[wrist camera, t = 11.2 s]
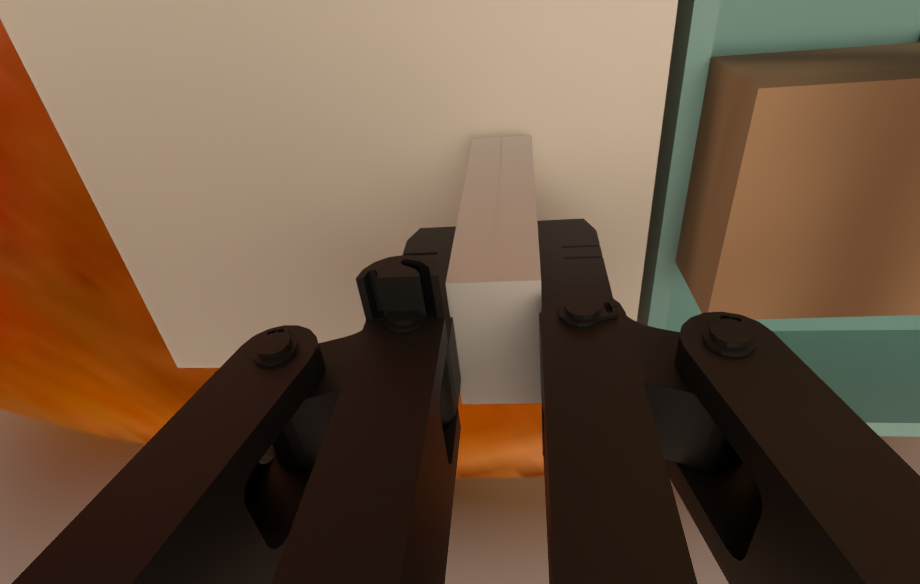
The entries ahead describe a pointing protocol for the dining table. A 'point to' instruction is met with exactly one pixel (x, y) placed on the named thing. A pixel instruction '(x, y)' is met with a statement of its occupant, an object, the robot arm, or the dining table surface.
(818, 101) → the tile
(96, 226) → the dining table surface
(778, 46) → the tray
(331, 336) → the board
